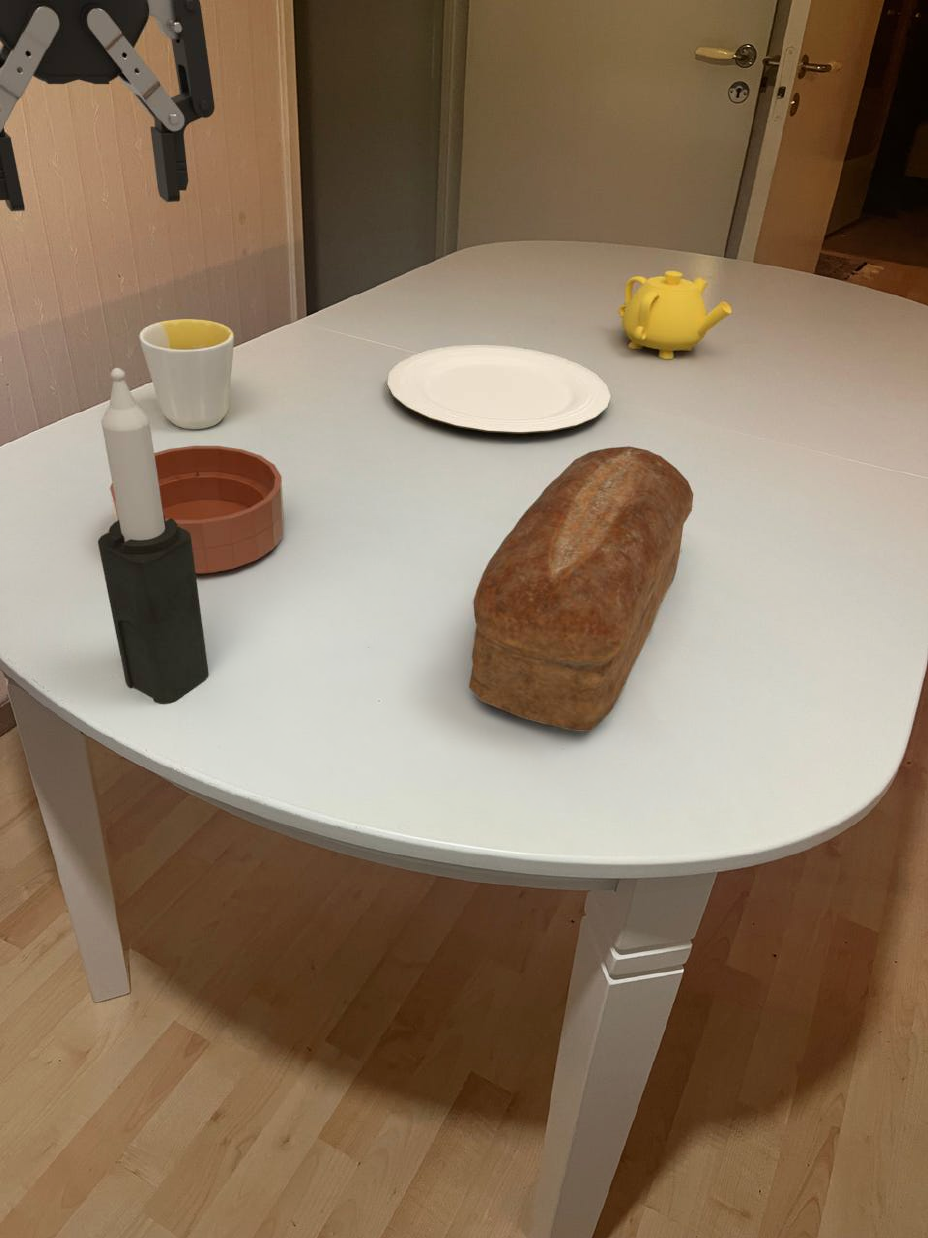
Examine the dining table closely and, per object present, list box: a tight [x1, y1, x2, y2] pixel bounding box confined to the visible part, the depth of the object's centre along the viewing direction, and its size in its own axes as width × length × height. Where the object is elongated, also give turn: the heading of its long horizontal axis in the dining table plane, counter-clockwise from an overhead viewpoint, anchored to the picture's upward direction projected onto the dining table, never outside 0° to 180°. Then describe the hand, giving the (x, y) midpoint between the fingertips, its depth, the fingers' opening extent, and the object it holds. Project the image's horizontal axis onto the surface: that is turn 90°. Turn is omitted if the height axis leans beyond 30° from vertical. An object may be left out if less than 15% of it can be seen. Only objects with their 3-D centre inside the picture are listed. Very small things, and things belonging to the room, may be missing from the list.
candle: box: [97, 367, 209, 704], centre depth 65 cm, size 5×5×25 cm
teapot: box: [618, 270, 732, 360], centre depth 138 cm, size 14×14×11 cm
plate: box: [387, 344, 611, 435], centre depth 121 cm, size 29×29×2 cm
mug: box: [138, 318, 235, 430], centre depth 108 cm, size 14×10×10 cm
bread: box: [468, 445, 694, 732], centre depth 77 cm, size 12×31×14 cm, turn 157°
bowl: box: [109, 445, 285, 575], centre depth 87 cm, size 15×15×6 cm
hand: (94, 203), depth 53 cm, fingers open, 8 cm apart
